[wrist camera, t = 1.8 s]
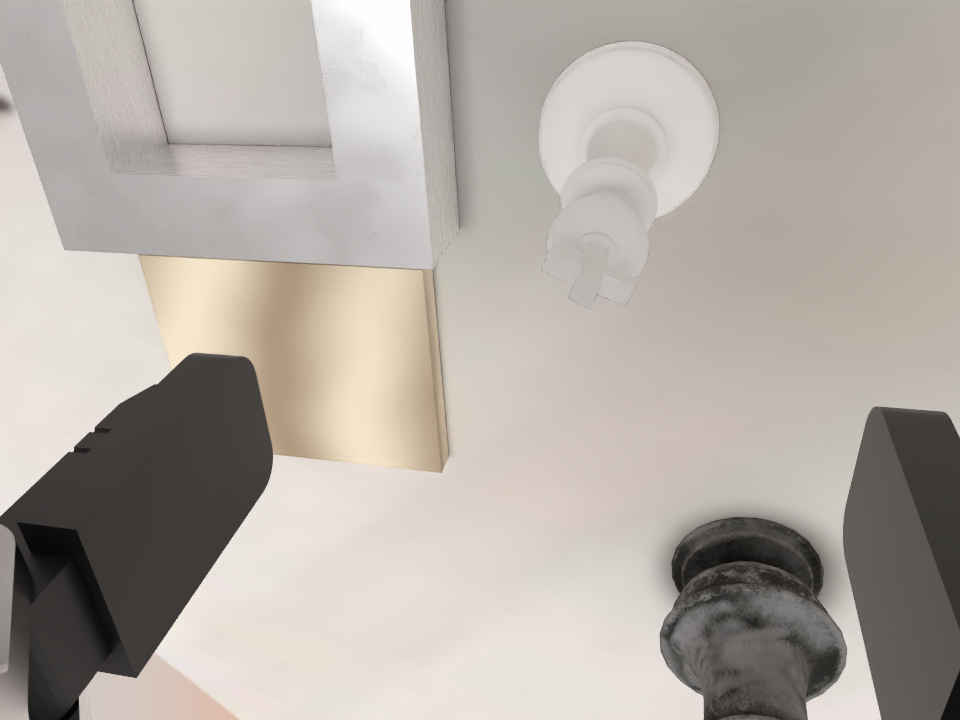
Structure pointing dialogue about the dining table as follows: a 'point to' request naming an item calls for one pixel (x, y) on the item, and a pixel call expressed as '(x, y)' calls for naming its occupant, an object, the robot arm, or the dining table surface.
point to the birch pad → (318, 350)
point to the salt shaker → (751, 621)
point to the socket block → (235, 168)
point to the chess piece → (621, 160)
